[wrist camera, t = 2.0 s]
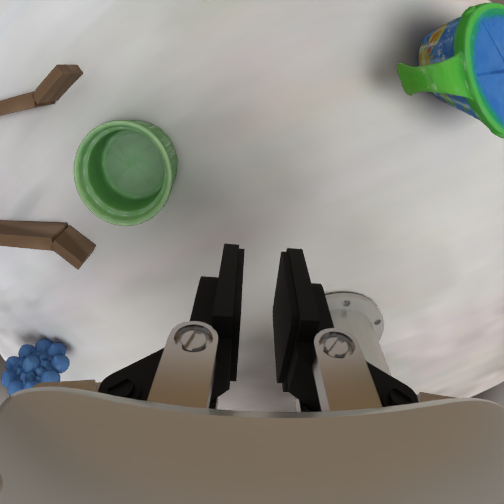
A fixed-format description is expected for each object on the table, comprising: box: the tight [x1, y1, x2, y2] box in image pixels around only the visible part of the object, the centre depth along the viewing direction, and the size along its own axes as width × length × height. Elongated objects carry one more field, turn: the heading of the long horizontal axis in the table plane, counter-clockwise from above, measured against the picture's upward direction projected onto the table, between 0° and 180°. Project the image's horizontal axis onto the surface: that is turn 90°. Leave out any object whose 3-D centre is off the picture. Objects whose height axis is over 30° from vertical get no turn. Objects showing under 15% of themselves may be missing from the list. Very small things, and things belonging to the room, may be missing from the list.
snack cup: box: [397, 3, 504, 138], centre depth 16 cm, size 16×10×10 cm
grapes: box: [1, 339, 69, 396], centre depth 34 cm, size 12×7×12 cm, turn 90°
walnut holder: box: [0, 65, 96, 269], centre depth 24 cm, size 20×17×4 cm
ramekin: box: [74, 120, 177, 226], centre depth 24 cm, size 9×9×4 cm
